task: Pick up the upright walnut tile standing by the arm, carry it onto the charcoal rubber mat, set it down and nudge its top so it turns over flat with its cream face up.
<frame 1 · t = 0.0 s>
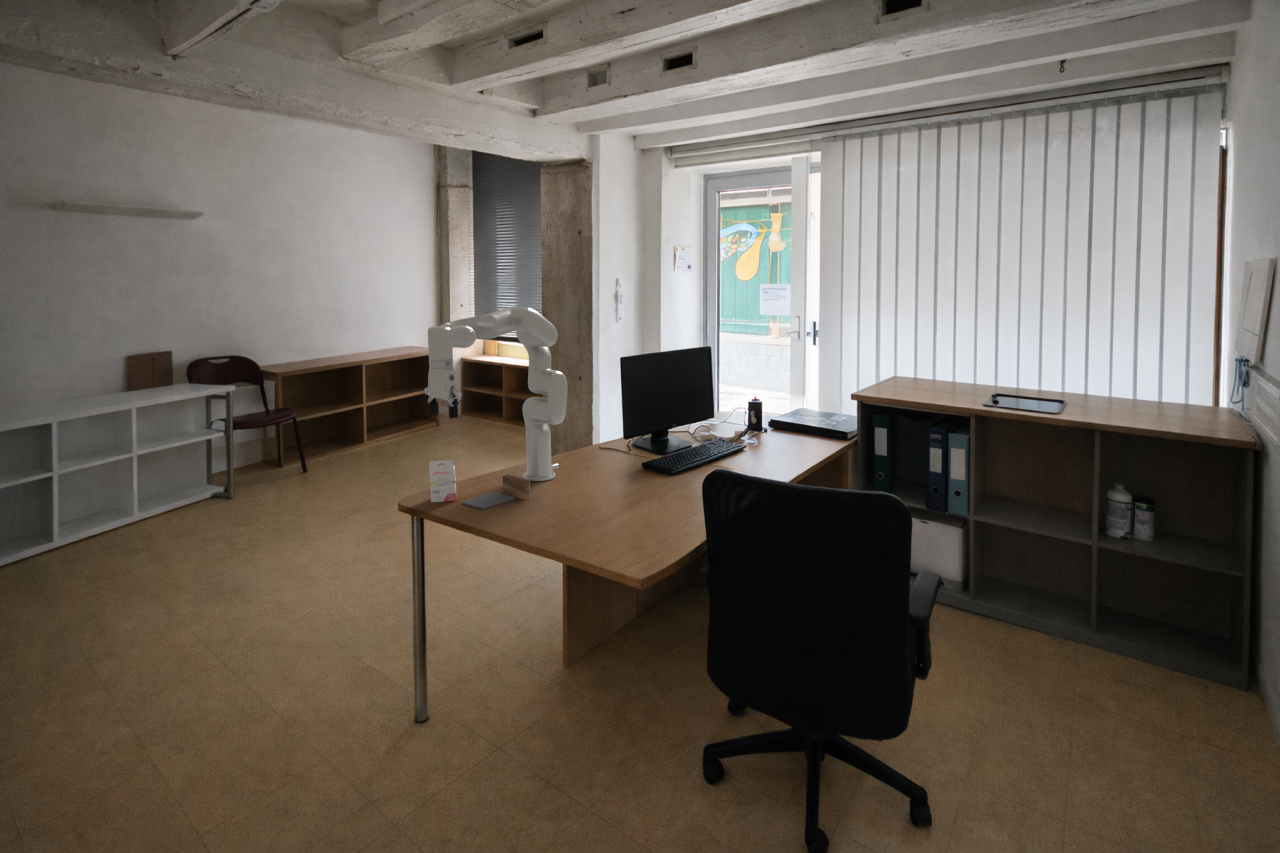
hand: (443, 416, 233), 31 cm above the table, fingers open, 9 cm apart
ink cartridge box: (443, 500, 247), on the table
tile: (516, 496, 251), on the table
mat: (488, 501, 245), on the table
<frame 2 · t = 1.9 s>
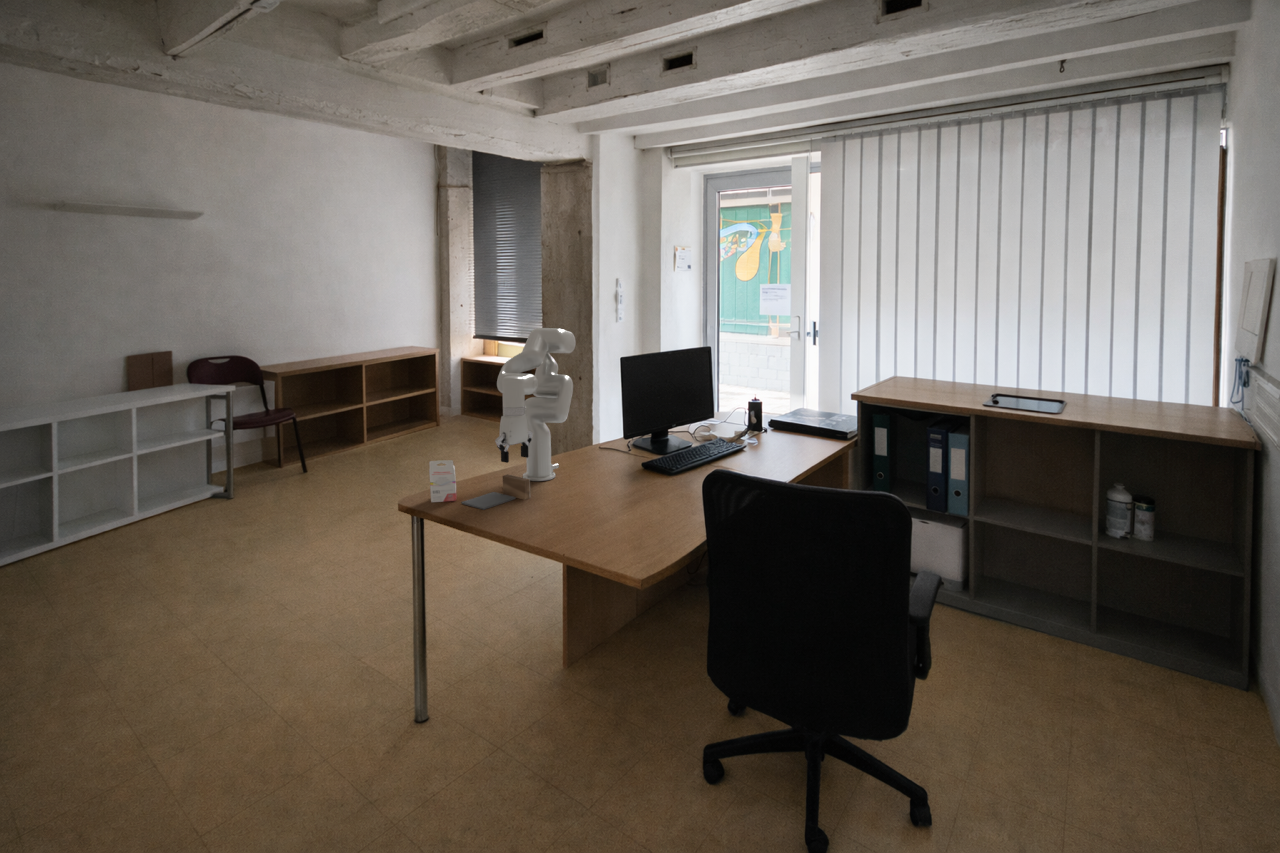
hand: (515, 459, 248), 14 cm above the table, fingers open, 9 cm apart
nothing on the table moved.
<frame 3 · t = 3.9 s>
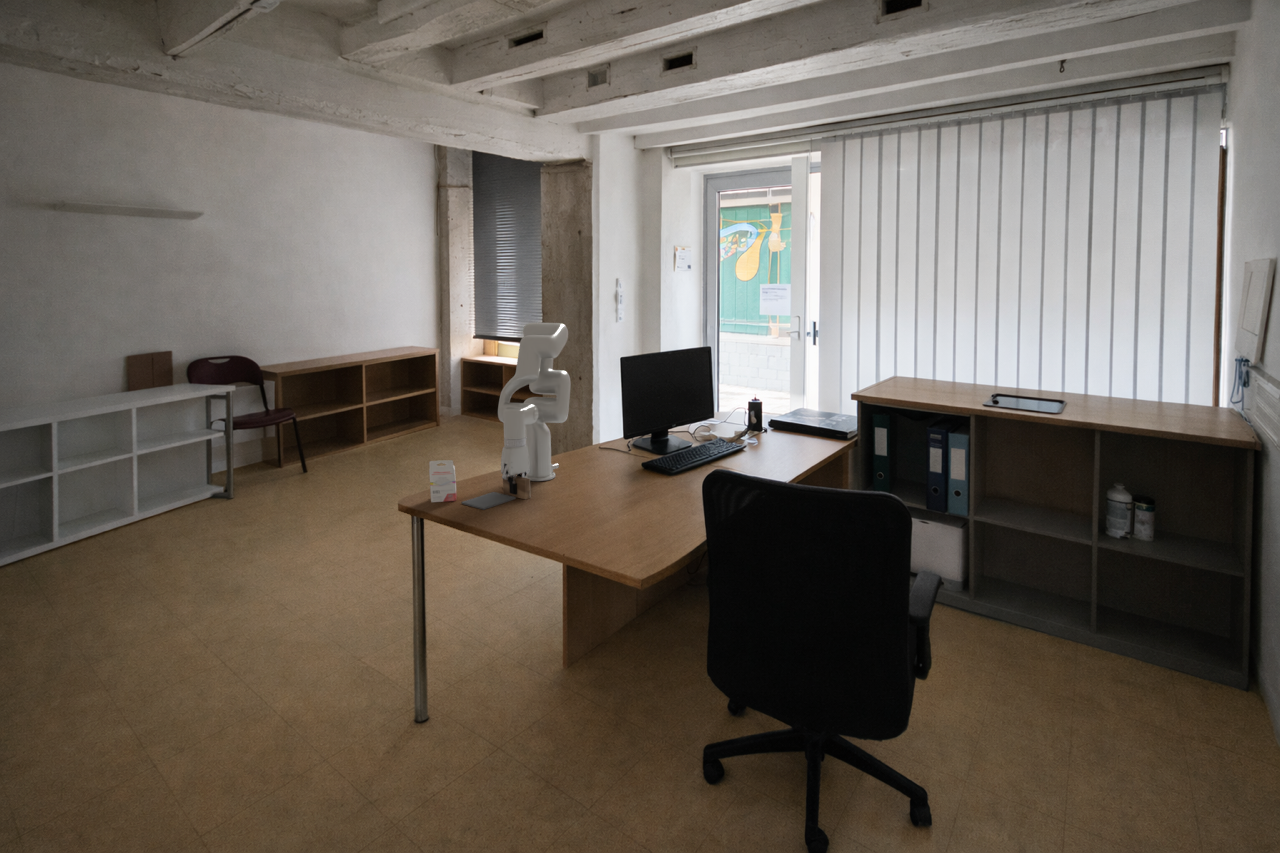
hand: (516, 492, 251), 1 cm above the table, fingers closed on tile, 2 cm apart
tile: (516, 495, 251), on the table, touching gripper
everything else where it was.
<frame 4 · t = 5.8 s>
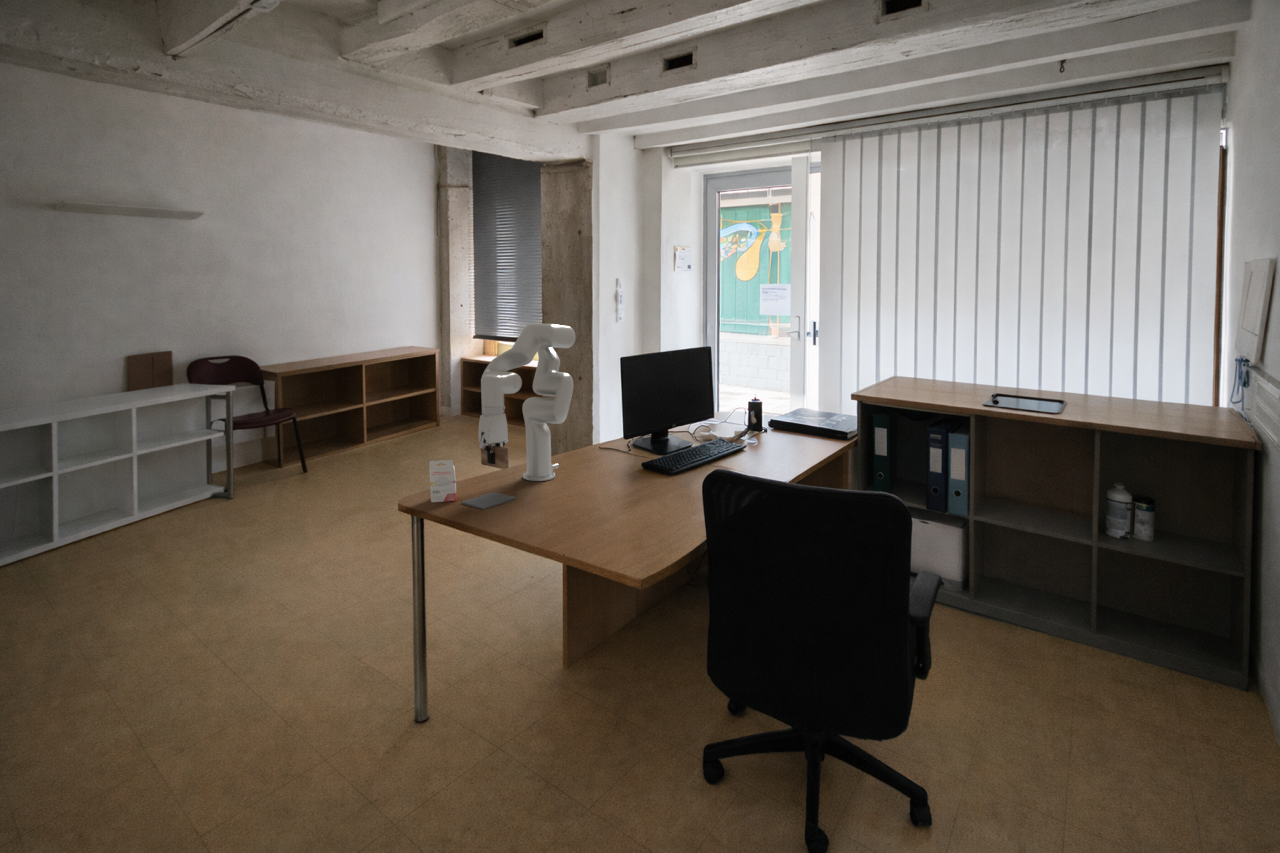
hand: (494, 462, 245), 13 cm above the table, fingers closed on tile, 2 cm apart
tile: (494, 466, 245), point 12 cm above the table, touching gripper
everything else where it was.
when the fingers open (3 cm above the table, at t = 7.8 s): tile stays where it is, resting on mat.
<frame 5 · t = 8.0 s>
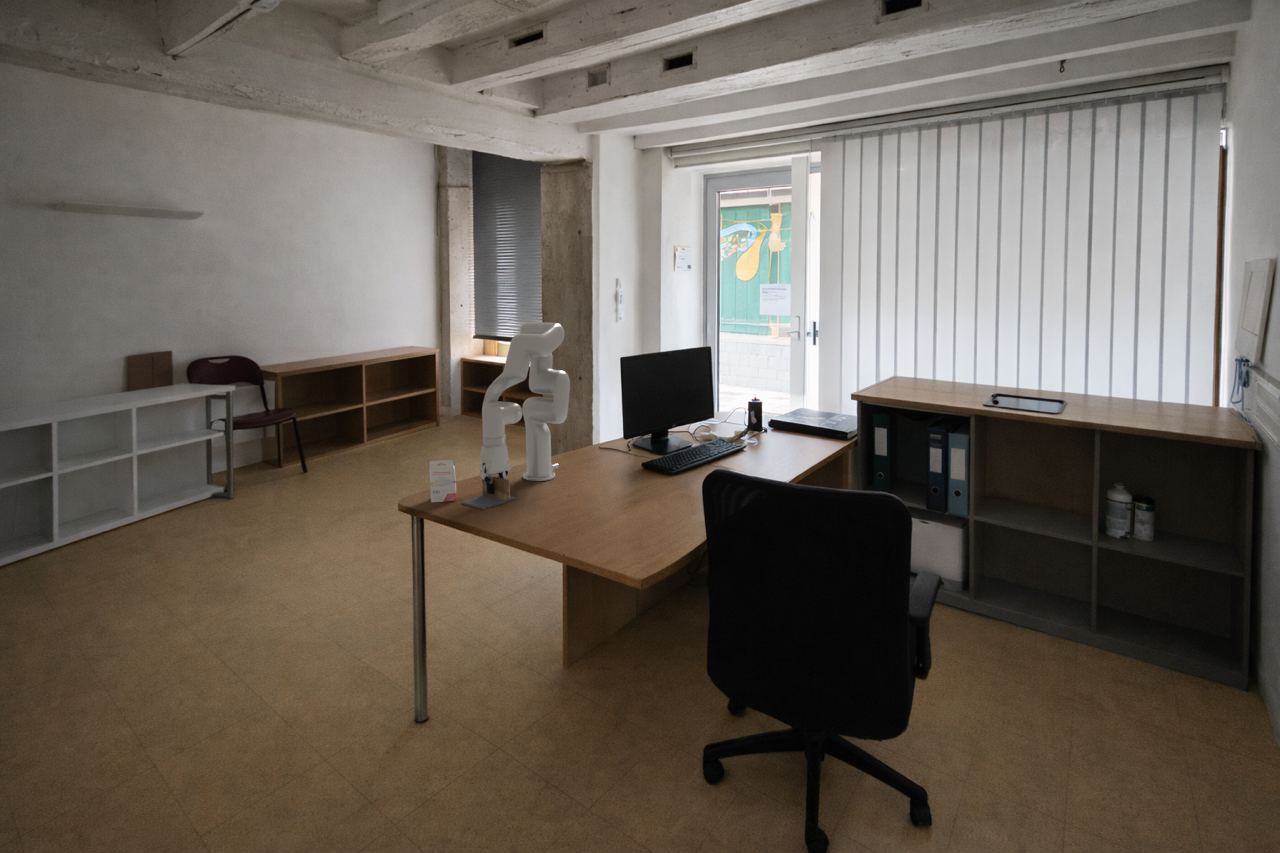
hand: (496, 491, 247), 3 cm above the table, fingers open, 4 cm apart
tile: (496, 497, 248), point 1 cm above the table, touching mat
everything else where it was.
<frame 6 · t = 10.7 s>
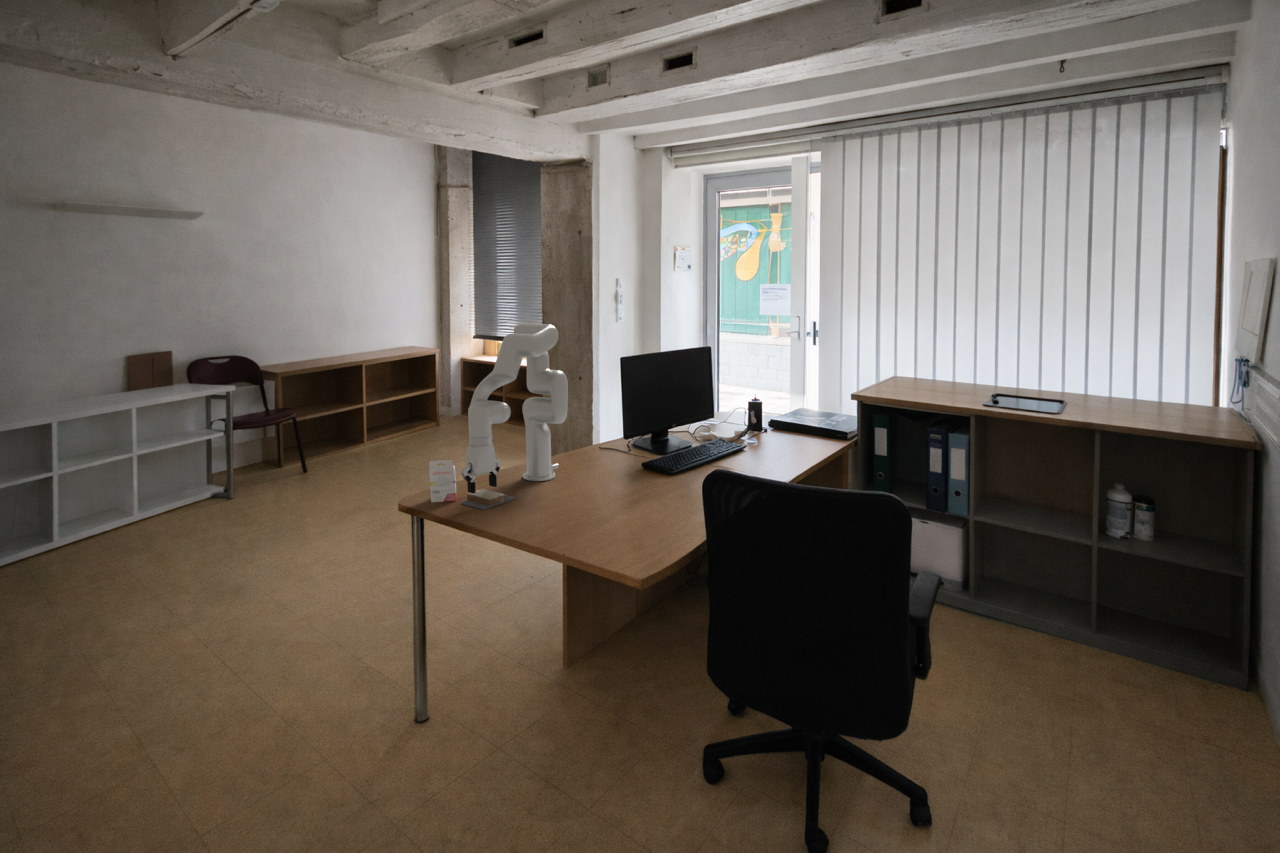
hand: (482, 489, 242), 5 cm above the table, fingers open, 9 cm apart
tile: (493, 494, 247), point 2 cm above the table, tilted 90°, touching mat
everything else where it was.
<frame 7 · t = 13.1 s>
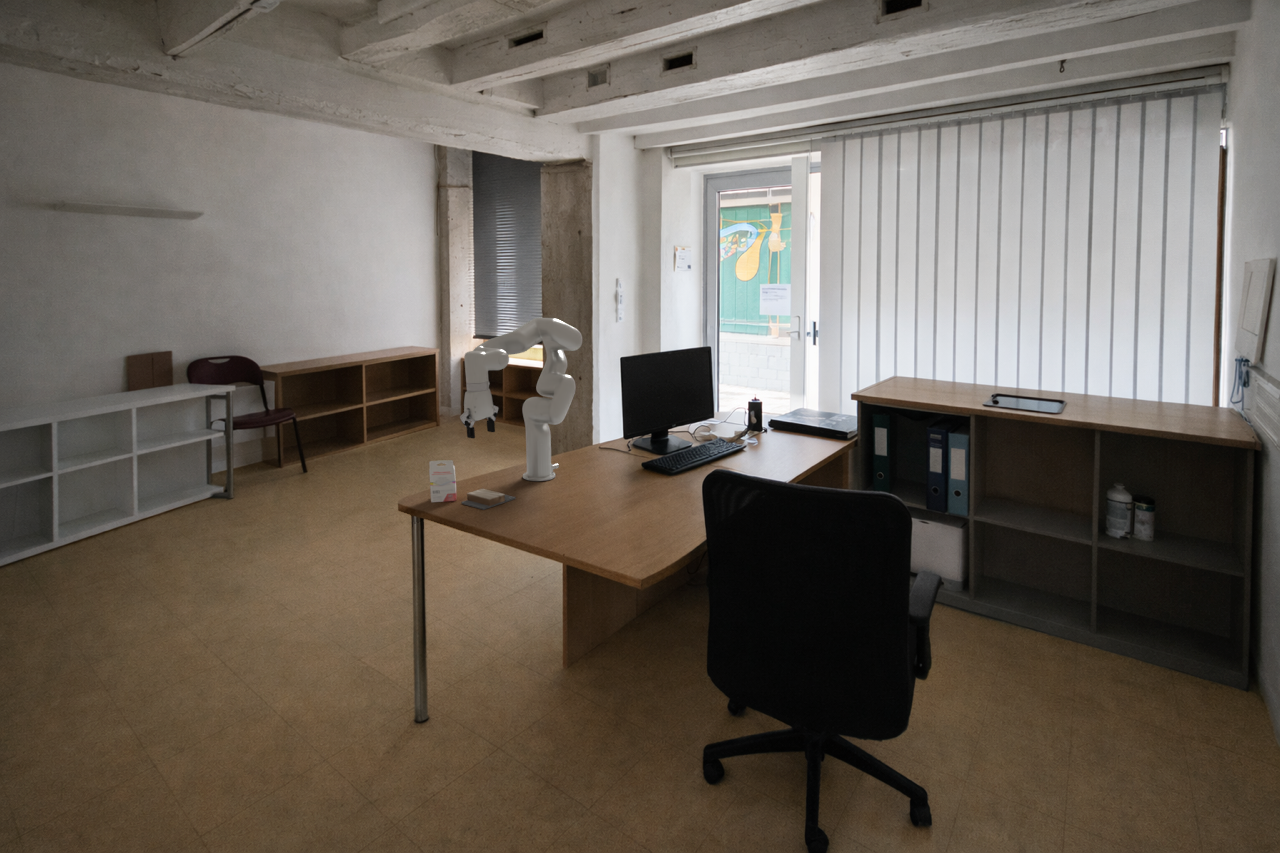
hand: (481, 434, 248), 22 cm above the table, fingers open, 9 cm apart
nothing on the table moved.
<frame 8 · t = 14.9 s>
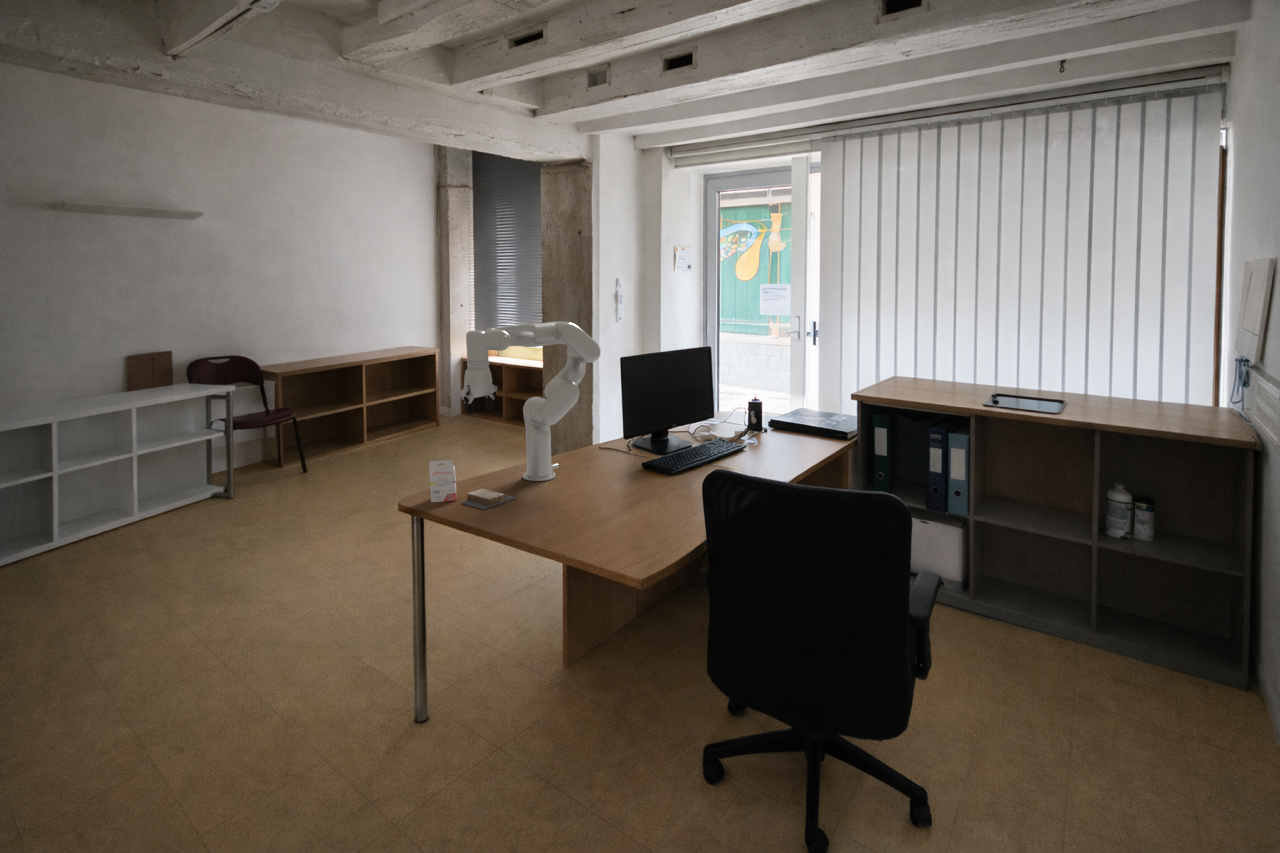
hand: (479, 412, 257), 28 cm above the table, fingers open, 9 cm apart
nothing on the table moved.
at the end: tile tilted 90°; tile inside the target area on the mat (2.2 cm from its centre), point 1.8 cm above the mat's base; the gripper is holding nothing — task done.
